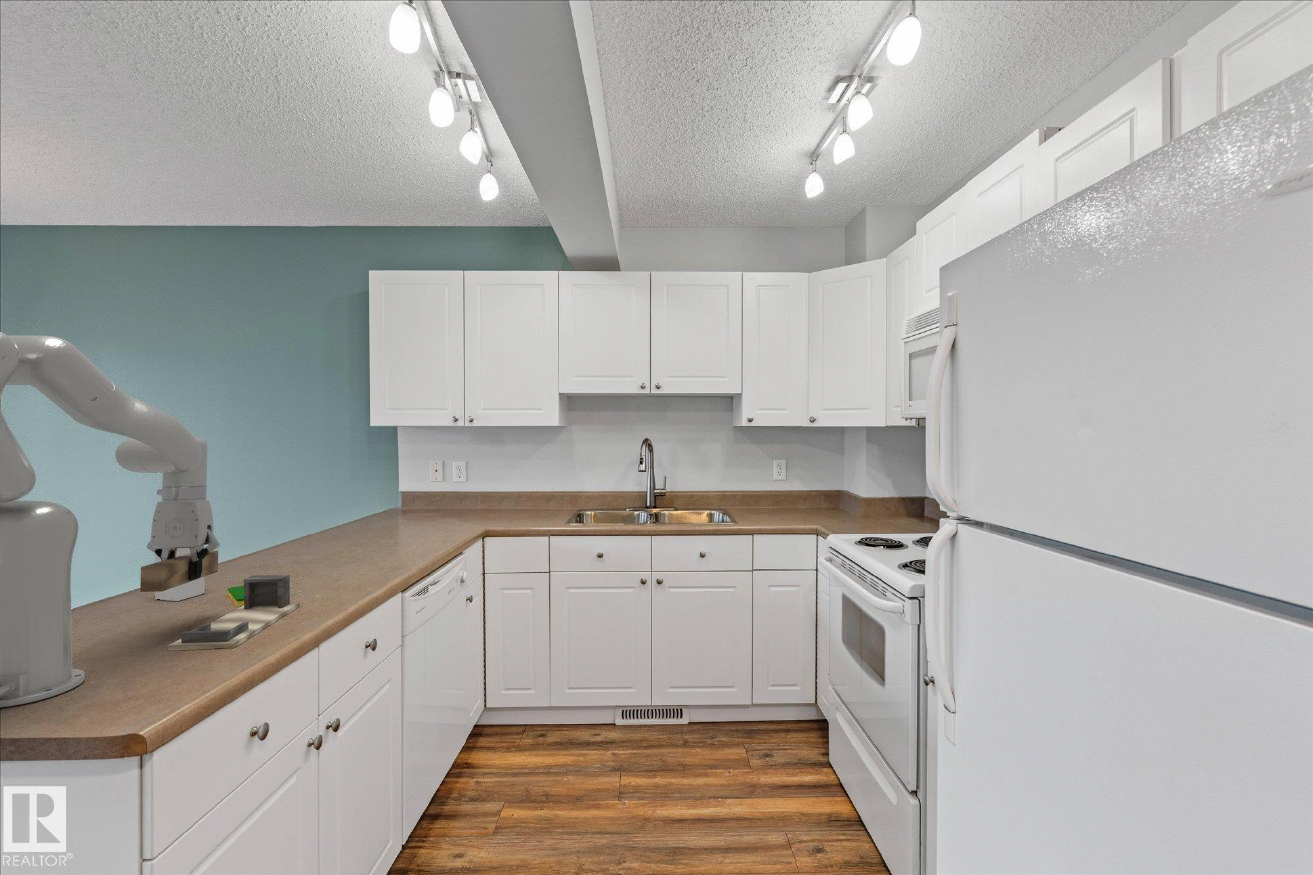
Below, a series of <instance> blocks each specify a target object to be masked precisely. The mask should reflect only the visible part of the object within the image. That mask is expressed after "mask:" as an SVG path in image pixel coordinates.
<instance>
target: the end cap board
mask: <svg viewBox="0 0 1313 875" xmlns="http://www.w3.org/2000/svg"><path fill="white" fill-rule="evenodd" d="M290 578H291V576H290V574H266V575H265V574H264V575H263V574H262V575H261V574H260V575H259V574H257V575H251V576H248V577H247V578H244V579H243V586H244V606H242V607H237V609H234V610H233V611H231V612H229V613H226V614H225V615H223V616H221V617H220V618H218V619H216V620H214V621H212V622H206V623H203V624H201V625H199V626H197V627H196V628H194V629H191V630H190V631H189V630H188V631H186V630H185V631H183V632H181V634H180V636H181V637H180V639H178V640H175V641H174V642H172V643H170V644H168V645H167V651H170V652H171V651H191V650H192V651H194V650H196V651H197V650H216V649H215V648H224V649H235V648H237V647H238V646H239V645H241V644H243V643H245V642H246V641H247V640H249V639H251V638H252V637H254V636H256V635H257V634H258V633H260V632H262V631H263V630H265V629H267V628H268V627H270V626H271V625H273V624H274V623H276V622H278V621H279V620H281V619H282V618H284V617H285V616H287V615H289V614H290V613H292V612H293V611H294V610H296V609H298V608H299V607H301V606H300V605H301V604H300V602H299V601H298V602H295V601H294V602H291V601H290V597H291V594H290V593H291V591H290V590H291V589H290V588H291V587H290V586H291V584H290V582H291V581H290V580H291V579H290ZM236 646H237V647H236Z"/></svg>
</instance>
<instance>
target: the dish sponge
mask: <svg viewBox="0 0 1313 875" xmlns="http://www.w3.org/2000/svg"><path fill="white" fill-rule="evenodd" d="M228 596H229V597H230V598H229V597H228ZM227 597H228V598H229V599H230V600H231V601H233V602H232V603H233V605H234V606H235V607H236V606H237V608H240V606H244V585H240V586H239V585H238V586H232V587H228V588H227Z"/></svg>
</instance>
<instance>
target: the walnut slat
mask: <svg viewBox="0 0 1313 875" xmlns="http://www.w3.org/2000/svg"><path fill="white" fill-rule="evenodd" d="M191 561H192V560H191V554H190V553H189V554H185V555H182V556H178V557H175V558H171V559H167V560H164V561H160V562H157V563H155V562H154V563H153V562H152V563H149V564H147V565H143V566H140V589H139V590H140V591H139V592H140V593H152V592H153V593H155V592H162V591H165V590H168V589H171V588H174V587H176V586H179V585H182V584H185V583H188V582H191V581H193V580H189V579H188V575H189V562H191ZM218 572H219V550H218V549H214V550H213V551H211V552H210V553H209V554H208V555H207V556H206V557H205V559H202V574H201V577H200V578H202V577H204V578H205V577H207V576H210V575H212V574H215V573H218ZM198 579H199V578H198ZM195 580H196V579H195Z"/></svg>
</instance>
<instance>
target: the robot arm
mask: <svg viewBox="0 0 1313 875" xmlns="http://www.w3.org/2000/svg"><path fill="white" fill-rule="evenodd" d="M6 386H30V387H31V386H32V387H33V388H35V389H36V390H37V391H39V392H40V393H41V394H43V396H45V397H46V398H48V399H49V401H50V402H53V403H54V404H55V405H56V406H57V407H59V408H60V409H61V410H62V411H63V412H64V413H66V415H68V416H69V417H70V418H71V419H72V420H74V421H75V422H76V423H79V424H80V425H83V426H86V427H89V428H90V429H91V428H92V429H95V430H99V431H102V432H105V433H111V434H115V435H119V436H122V437H123V436H124V437H127V439H125V440H124V441H122V442H121V443H119V444H118V446H117V447H116V448H115V452H114V453H115V454H114V456H115V460H116V462H117V463H118V465H119V466H121V467H122V468H123V469H124V470H127V471H130V472H133V473H142V474H143V473H145V474H152V473H153V474H155V473H156V474H157V473H162V479H161V480H162V485H161V488H159V489H157V490H156V495H157V496H161V501H160V500H159V501H157V503H156V506H155V509H154V512H153V517H152V522H151V524H152V525H151V531H150V541H149V542H148V543H147V545H146V548H147V550H149V551H151V552H152V553H154V555H155V554H156V555H157V556H158V557H160V558H161V561H164V560H167V559H171V558H175V557H176V553H177V548H189V549H190V554H191V560H192V561H191V562H189V575H188V579H189V580H195V579H198V578H200V577H201V574H202V559H205V557H206V556H207V555H208V554H209V553H210V552H211V551H213V550H217V549H218V548H220V546H221V543H220V542H219V541H218V540H217V539H218V538H216V537H215V535H214V519H213V518H214V517H213V511H212V505H211V502H210V500H209V499H207V491H208V490H207V488H208V487H207V486H208V485H207V484H208V482H207V480H208V443H207V441H206V439H204V438H201V437H195V436H194V435H193V434H192V433H191V431H189V430H188V429H187V428H186V426H184V425H183V424H182V423H181V422H180V421H179V420H178V419H176V418H174V417H173V416H171V415H169V414H168V413H166V412H164V411H162V410H160V409H158V408H156V407H154V406H152V405H150V404H148V403H146V402H144V401H142V400H140V399H138V398H136V397H133V396H131V395H128V394H127V393H125V392H124V391H123V390H121V388H119V387H118V386H117V385H116V384H115V383H114V382H113V381H112V380H111V379H110V378H109V377H108V376H106V374H105V373H103V372H102V371H101V370H100V369H99V368H98V367H97V366H96V365H95V364H94V363H93V362H92V361H91V360H90V359H89V358H88V357H87V356H85V354H84V353H83V352H82V351H81V350H79V349H78V348H77V347H76V346H75V345H73V344H72V343H71V342H70V341H68V340H66V339H63V338H60V337H57V336H51V335H36V334H35V335H33V334H32V335H27V334H26V335H17V334H16V335H8V334H6V333H4V332H1V331H0V402H1V399H2V396H3V393H4V391H5V390H4V389H5V388H6ZM36 478H37V477H36V472H35V469H34V467H33V465H32V463H31V462H30V460H29V458H28V457H27V455H26V453H25V452H24V450H23V448H22V447H21V445H20V443H19V441H18V440H17V439H16V437H15V435H14V434H13V432H12V430H11V429H10V426H9V425H8V423H7V421H6V418H5V417H4V415H3V412H2V409H1V406H0V708H6V707H8V708H9V707H14V706H18V705H19V706H20V705H25V704H29V703H33V702H34V703H35V702H38V701H42V700H45V699H48V698H52V697H55V696H57V695H58V696H59V695H61V694H63V693H65V692H68V691H70V690H72V689H74V688H76V687H77V686H79V685H81V684H82V683H83V682H84V681H85V676H86V674H85V671H84V670H83V669H78V668H73V651H72V650H73V646H72V645H73V642H72V641H73V640H72V639H73V638H72V637H73V636H72V587H71V586H72V585H71V584H72V581H71V579H72V578H71V576H72V561H73V556H74V551H75V548H76V547H75V546H76V544H77V539H78V534H79V522H78V519H77V516H76V515H75V514H74V513H73V511H72V510H70V508H68V507H66V506H64V505H62V504H59V503H55V502H51V501H47V500H46V501H44V500H43V501H42V500H19V499H22V498H23V497H25V496H27V495H29V494H30V493H31V492H32V491H33V489H34V488H35V485H36V482H37V479H36ZM205 545H207V546H205Z"/></svg>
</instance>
